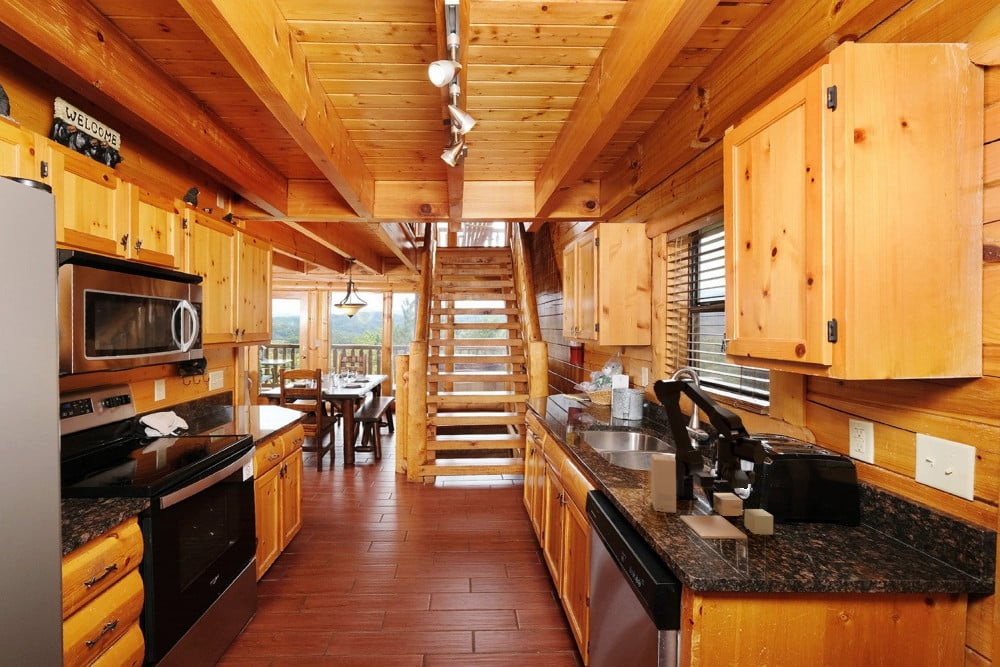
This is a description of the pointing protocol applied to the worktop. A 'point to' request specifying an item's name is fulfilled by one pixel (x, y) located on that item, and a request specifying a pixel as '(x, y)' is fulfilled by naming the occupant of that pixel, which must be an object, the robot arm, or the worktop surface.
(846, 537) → the worktop surface
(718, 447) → the robot arm
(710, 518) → the baseplate
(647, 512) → the worktop surface
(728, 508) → the maple block
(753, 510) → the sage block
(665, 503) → the skincare box
